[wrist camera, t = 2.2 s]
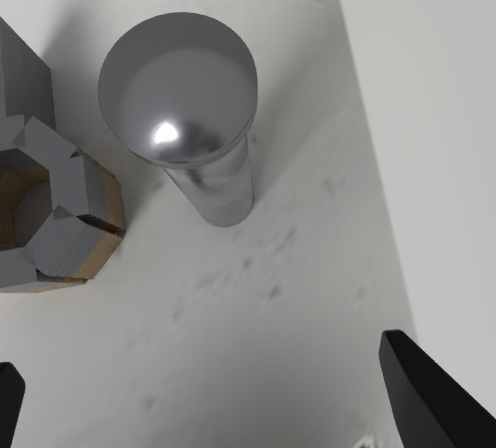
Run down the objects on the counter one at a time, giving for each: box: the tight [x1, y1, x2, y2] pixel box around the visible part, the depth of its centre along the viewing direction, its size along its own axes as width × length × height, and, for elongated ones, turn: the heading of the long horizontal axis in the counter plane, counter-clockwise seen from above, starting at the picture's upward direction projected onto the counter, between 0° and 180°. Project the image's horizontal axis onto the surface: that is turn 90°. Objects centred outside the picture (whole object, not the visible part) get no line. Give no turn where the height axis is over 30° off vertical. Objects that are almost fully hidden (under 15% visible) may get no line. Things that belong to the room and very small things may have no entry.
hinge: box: [0, 17, 125, 293], centre depth 22 cm, size 12×15×5 cm
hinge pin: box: [98, 12, 258, 227], centre depth 17 cm, size 4×4×13 cm
